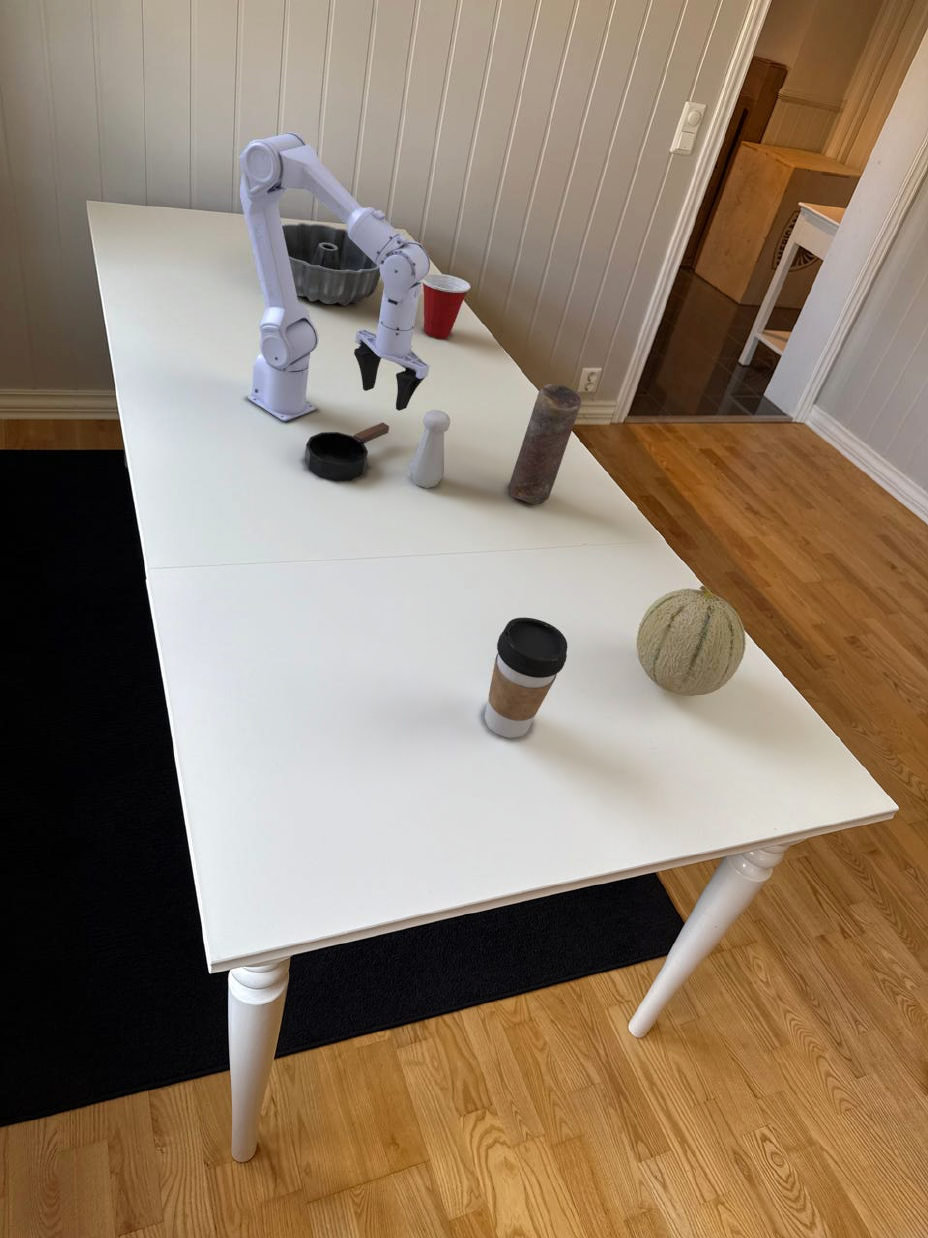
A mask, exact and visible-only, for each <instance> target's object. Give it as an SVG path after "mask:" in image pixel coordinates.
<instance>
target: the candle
mask: <svg viewBox="0 0 928 1238" xmlns="http://www.w3.org/2000/svg"><path fill="white" fill-rule="evenodd" d="M581 406H582V401H581V396H580V395H579V394H578V392H576V391H574V390H573V389H571V388H570V387H568V386H566V385H564V384H555V383H549V384H545V385H544V386H542V387H541V388H540V389H539V391H538V393H537V396H536V399H535V402H534V406H533V408H532V412H531V415H530V418H529V421H528V424H527V427H526V431H525V433H524V437H523V439H522V443H521V446H520V449H519V453H518V456H517V459H516V461H515V464H514V468H513V471H512V474H511V477H510V481H509V484H508V487H507V489H508V493H509V495H510V496H512V497H513V498H516V499H517V500H523V501H524V502H525V503H527V504H528V503H529V504H531V505H538V504H543V503H544V502H546V501H547V500H548V499H550V496H551V493H552V490H553V487H554V484H555V482H556V479H557V475H558V473H559V469H560V468H561V464H562V461H563V458H564V455H565V452H566V449H567V446H568V444H569V440H570V437H571V434H572V432H573V428H574V426H575V423H576V420H577V417H578V414H579V411H580V409H581Z"/></svg>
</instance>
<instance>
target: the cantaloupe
mask: <svg viewBox="0 0 928 1238" xmlns="http://www.w3.org/2000/svg"><path fill="white" fill-rule="evenodd" d="M746 641H747V640H746V631H745V627H744V623H743V622H742V619H741V617H740V615H739V614H738V612H736V610H735V608H734V607H733V606H732V605H731V604H730V603H729V602H727V601H726V600H725V599H723V598H721V596H718V595H716V594H715V593H712V591H711V590H710V588H709V587H708V586H707V585H701V586H700V587H699V589H695V588H681V589H677V590H673V591H669V592H667V593H666V594H663V595H662V596H661V597H659V598H658V599H656V600H655V601H654V602H653V603H652V604H651V605H650V606H649V607H648V608H647V610H646V611H645V613H644V615H643V616H642V619H641V621H640V623H639V627H638V630H637V635H636V651H637V658H638V660H639V663H640V665H641V668H642V669H643V671H644V672H645V674H646V675H647V677H649V679H651V681H652V682H654V684H656V685H657V686H658V687H660V688H661V689H663V690H666V691H668V692H671V693H675V694H677V695H681V696H686V697H696V696H697V697H698V696H706V695H709V694H712V693H714V692H717V691H719V690H720V689H721V688H723V687H724V686H725V685H726V684H728V682H729V681H730V680H731V679H732V678H733V676H734V675H735V673H736V672H737V671H738V670H739V669H738V668H739V667H740V665H741V664H742V661H743V659H744V655H745V651H746V645H747V643H746Z"/></svg>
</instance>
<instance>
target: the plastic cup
mask: <svg viewBox="0 0 928 1238" xmlns="http://www.w3.org/2000/svg"><path fill="white" fill-rule="evenodd" d="M421 283H422V287H423V290H422V291H423V332H424V333H425V335H427V336H429V337H431V338H433V339H439V340H442V339H448V338H449V337H450V334H451V333H452V330H453V327H454V325H455V323H456V321H457V318H458V316H459V313H460V310H461V307H462V304H463V301H464V300H465V297H466V296H467V293H468V292H469V290H470V289H471V284H470V283H469V282H467V281H466V280H464V279H463V278H460V277H457V276H454V275H449V274H443V273H428V274H427V275H426V276H425V277H424V278H423V279H422V280H421Z"/></svg>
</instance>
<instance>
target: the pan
mask: <svg viewBox="0 0 928 1238" xmlns="http://www.w3.org/2000/svg"><path fill="white" fill-rule="evenodd" d="M389 431H390V425H388V424H386V423H385V422H380V423H378V424H375V425H372V426H370V427H367V428H366V429H364V430H361V431H359V432H357V433H354V434H353V435H352V434H351V435H350V434H346V433H342V432H338V431H324V432H323V431H322V432H320V433H317V434H315V435H312V436H310V437H309V439H308V440H307V442H306V444H305V453H304V463H305V465H306V467H307V470H308V471H310V472H311V473H313V474H314V475H316V476H317V477H319V478H321V479H326V480H330V481H334V482H347V481H350V482H351V481H353V480H355V479H357V478H359V477H361V476H363V475H364V472H365V470H366V467H367V461H368V454H369V450H368V449H367V447H366V445H365V444H366V443H369V442H371V441H373V440H376V439H378V438H380V437H383V436H385V435H387V434H389Z"/></svg>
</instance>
